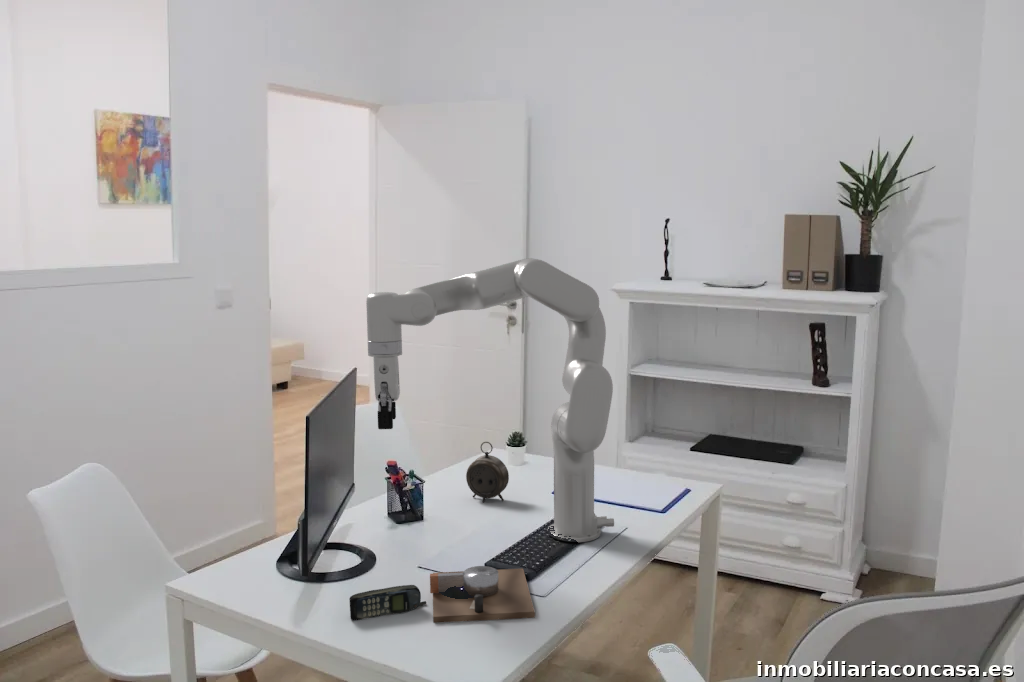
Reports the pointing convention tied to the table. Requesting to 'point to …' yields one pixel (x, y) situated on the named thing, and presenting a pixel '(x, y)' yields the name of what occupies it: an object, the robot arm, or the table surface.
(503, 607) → the plinth
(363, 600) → the mobile phone
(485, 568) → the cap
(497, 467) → the alarm clock
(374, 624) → the table surface
